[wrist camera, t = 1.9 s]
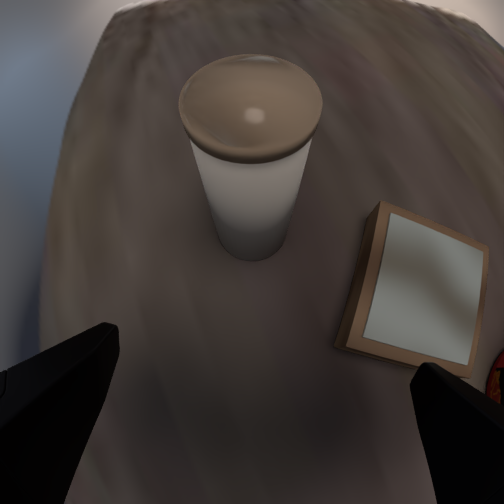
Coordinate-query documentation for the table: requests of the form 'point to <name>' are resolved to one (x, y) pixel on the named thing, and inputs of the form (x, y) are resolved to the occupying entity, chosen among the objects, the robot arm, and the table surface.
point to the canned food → (497, 381)
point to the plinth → (415, 293)
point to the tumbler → (251, 145)
